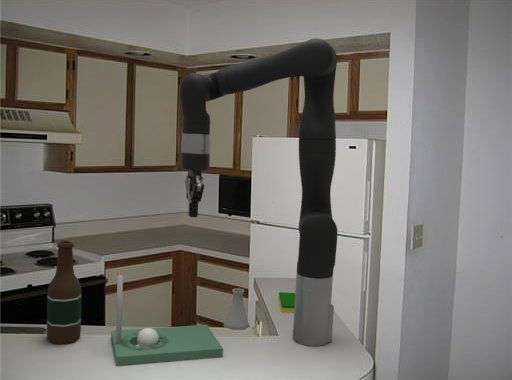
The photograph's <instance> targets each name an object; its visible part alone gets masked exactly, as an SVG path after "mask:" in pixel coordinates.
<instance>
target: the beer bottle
mask: <svg viewBox="0 0 512 380" xmlns="http://www.w3.org/2000/svg"><path fill="white" fill-rule="evenodd" d="M74 246H75V245H74V243H73V242H72V241H70V240H61V241H58V242H57V244H56V247H57V259H56V261H57V262H56V270H55V275H54V276H53V278H52V279H51V280H50V282H49V285H48V288H47V297H46V298H47V300H46V302H47V304H46V338H47V341H48V342H50V343H51V344H52V345H62V344H65V345H68V344H69V345H70V344H73V343H76V342H77V341H78V340H79V339H80V338H81V332H82V331H81V330H82V285H81V283H80V281H79V279H78V278H77V276H76V275H75V270H74V257H73V255H74V254H73V251H74V250H73V248H74Z"/></svg>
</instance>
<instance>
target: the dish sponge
mask: <svg viewBox="0 0 512 380" xmlns="http://www.w3.org/2000/svg"><path fill="white" fill-rule="evenodd" d="M278 302H279V306H280V312H281V313H289V314H290V313H291V314H292V313H293V314H294V307H295V292H283V291H280V292H278Z"/></svg>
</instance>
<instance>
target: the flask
mask: <svg viewBox="0 0 512 380" xmlns="http://www.w3.org/2000/svg"><path fill="white" fill-rule="evenodd" d="M244 292H245V289H243V288H233V289H232V301H231V304H230V306H229V309H228V312H227V314H226V316H225V318H224V321H223V327H224V328H226V329H229V330H237V331H239V330H240V331H244V330H246V329H248V328H250V324H249V323H250V322H249V319H248V316H247V313H246V310H245V305H244V298H243V297H244Z"/></svg>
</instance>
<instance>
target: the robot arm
mask: <svg viewBox="0 0 512 380" xmlns="http://www.w3.org/2000/svg"><path fill="white" fill-rule="evenodd" d="M337 65H338V57H337V53H336V50H335V48H334V47H333V46H332V45H331V44H330V43H328V41H326V40H324V39H322V38H311V39H307V40H306V41H304V42H301V43H299V44H297V45H295V46H292V47H290V48H287V49H285V50H283V51H279V52H277V53H275V54H272V55H268V56H265V57H260V58H255V59H251V60H248V61H243V62H239V63H235V64H231V65H227V66H224V67H222V68H219V69H218V70H217V71H215V72H211V73H208V74H200V73H196V72H190V73H188V74H186V75H185V76H184V78H183V79H182V81H181V83H180V88H179V91H180V92H179V93H180V94H179V95H180V102H181V110H182V115H183V122H182V136H181V137H182V138H181V147H180V169H182V170H184V171H187V175H186V176H185V179H184V185H185V191H186V192H185V193H186V194H185V195H186V199H187V202H188V212H187V213H188V216H189V218H197V217H198V216H199V214H198V213H199V203H200V202H201V201H202V197H203V194H204V191H205V183H204V177H203V176H202V172H203V171H209V169H210V161H211V160H210V158H211V157H210V156H211V137H210V135H211V133H210V132H211V116H210V114H209V113H208V112H207V102H210V101H214V100H217V99H219V98H222V97H224V96H225V97H226V96H227V95H233V94H238V93H239V94H240V93H242V92H247V91H250V90H254V89H256V88H259V87H262V86H265V85H267V84H270V83H273V82H275V81H279V80H283V79H288V78H297V77H303V88H304V101H303V107H302V114H301V116H300V117H301V118H300V124H299V128H298V130H299V132H298V162H299V166H298V167H299V175H300V182H301V204H300V213H299V214H300V215H299V220H298V233H299V241H298V256H297V263H296V275H295V276H296V277H295V292H294V293H295V307H294V313H293V324H292V325H293V326H292V328H293V329H292V340H293V341H295V342H296V343H298V344H301V345H305V346H310V347H311V346H312V347H313V346H314V347H316V346H323V345H326V344H327V343H331V342H333V341H332V340H333V330H334V328H333V327H334V326H333V325H334V313H335V311H334V310H335V305H333V303H332V295H333V280H334V271H335V270H334V269H335V265H336V258H337V257H336V256H337V246H338V245H337V244H338V226H337V224H336V222H335V220H334V219H333V212H332V201H331V198H332V197H331V189H332V188H331V187H332V184H333V183H332V182H333V177H334V172H335V165H336V155H337V154H336V153H337V152H336V151H337V140H336V139H337V132H336V113H335V105H334V94H335V82H336V81H335V80H336V73H337Z"/></svg>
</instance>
